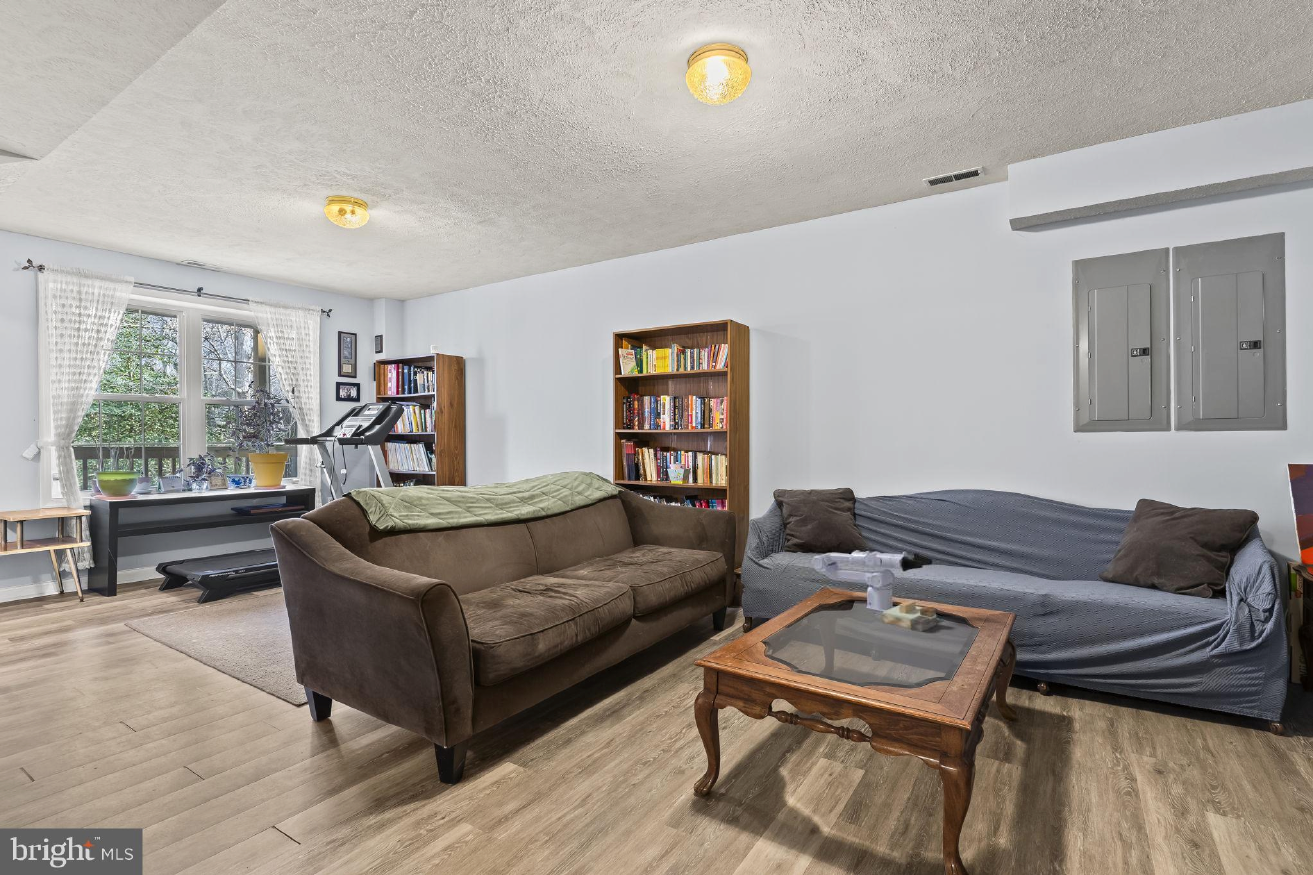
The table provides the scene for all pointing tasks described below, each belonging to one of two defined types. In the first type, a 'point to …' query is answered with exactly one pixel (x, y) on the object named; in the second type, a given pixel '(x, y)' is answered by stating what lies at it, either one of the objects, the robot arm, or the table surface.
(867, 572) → the robot arm
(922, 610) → the bolt
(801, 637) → the table surface
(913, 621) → the wooden tray
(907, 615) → the lid
